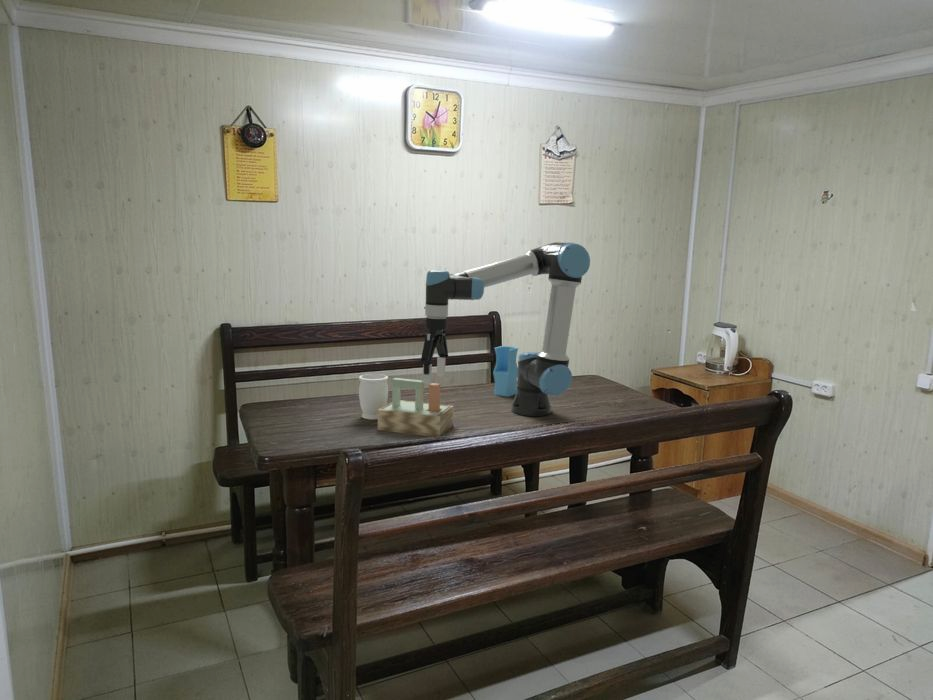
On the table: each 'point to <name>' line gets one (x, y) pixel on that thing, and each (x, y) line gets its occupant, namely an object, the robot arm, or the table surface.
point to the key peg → (434, 397)
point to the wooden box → (415, 421)
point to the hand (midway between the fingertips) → (434, 379)
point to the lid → (410, 406)
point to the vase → (505, 371)
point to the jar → (372, 394)
